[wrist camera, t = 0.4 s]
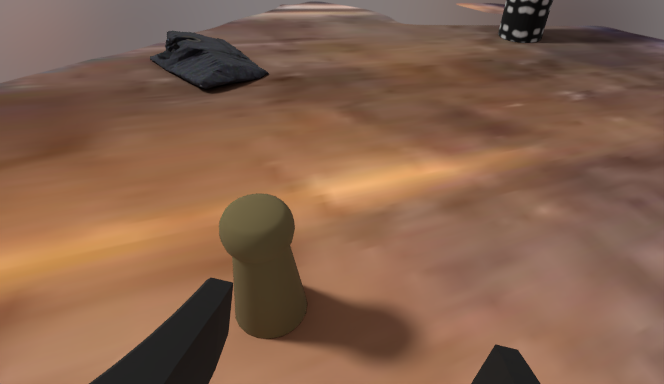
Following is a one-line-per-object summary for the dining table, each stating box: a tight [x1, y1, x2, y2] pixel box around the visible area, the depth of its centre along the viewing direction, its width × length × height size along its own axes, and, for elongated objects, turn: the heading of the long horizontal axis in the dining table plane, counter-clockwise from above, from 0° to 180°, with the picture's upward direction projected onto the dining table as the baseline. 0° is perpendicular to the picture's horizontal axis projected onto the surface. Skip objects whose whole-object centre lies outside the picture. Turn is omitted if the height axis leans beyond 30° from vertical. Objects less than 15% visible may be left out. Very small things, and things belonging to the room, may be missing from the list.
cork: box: [219, 194, 307, 339], centre depth 31 cm, size 6×6×11 cm
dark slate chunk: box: [150, 31, 269, 89], centre depth 73 cm, size 15×22×5 cm
